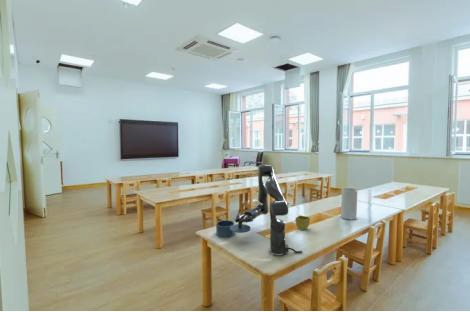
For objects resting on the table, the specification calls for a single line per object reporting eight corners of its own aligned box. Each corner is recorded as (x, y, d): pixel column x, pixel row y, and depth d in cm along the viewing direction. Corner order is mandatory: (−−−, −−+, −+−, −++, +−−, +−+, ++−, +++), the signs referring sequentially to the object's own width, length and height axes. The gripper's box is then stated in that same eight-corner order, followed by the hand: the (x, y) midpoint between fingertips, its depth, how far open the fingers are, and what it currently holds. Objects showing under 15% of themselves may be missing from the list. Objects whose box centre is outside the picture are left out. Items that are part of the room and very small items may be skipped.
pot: (235, 231, 193) (235, 220, 192) (232, 238, 180) (232, 227, 179) (218, 230, 195) (218, 219, 194) (214, 237, 182) (214, 226, 181)
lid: (251, 226, 180) (251, 215, 179) (249, 234, 166) (249, 222, 165) (231, 225, 182) (231, 214, 182) (228, 233, 168) (227, 221, 168)
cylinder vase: (359, 219, 216) (360, 191, 214) (345, 220, 215) (346, 191, 213) (351, 214, 229) (352, 187, 226) (338, 215, 228) (339, 188, 225)
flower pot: (299, 225, 203) (300, 215, 203) (310, 228, 198) (310, 217, 197) (295, 229, 197) (295, 218, 196) (305, 231, 191) (305, 220, 190)
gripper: (243, 208, 189) (229, 214, 175) (259, 211, 181) (246, 218, 167) (243, 217, 190) (229, 224, 175) (259, 221, 182) (246, 229, 168)
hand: (237, 221), depth 171 cm, fingers closed on lid, 2 cm apart
